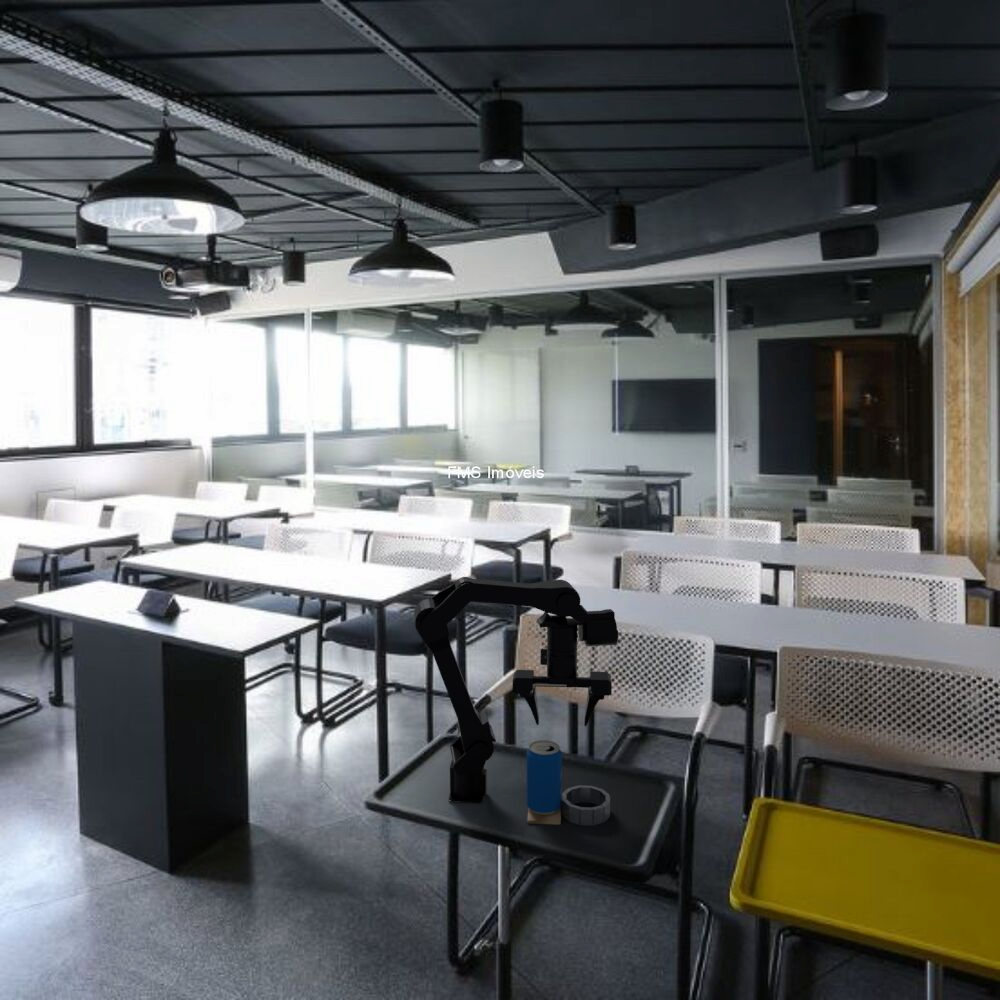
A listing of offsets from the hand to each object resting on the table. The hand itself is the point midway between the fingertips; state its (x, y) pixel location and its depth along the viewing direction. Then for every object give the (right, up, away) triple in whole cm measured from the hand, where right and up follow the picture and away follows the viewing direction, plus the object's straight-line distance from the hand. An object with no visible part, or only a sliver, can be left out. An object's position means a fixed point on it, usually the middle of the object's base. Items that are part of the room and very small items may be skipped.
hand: (561, 724), depth 160 cm
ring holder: (+4, -14, -7) cm, 16 cm away
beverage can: (-4, -14, -7) cm, 16 cm away
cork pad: (-4, -14, -7) cm, 16 cm away
